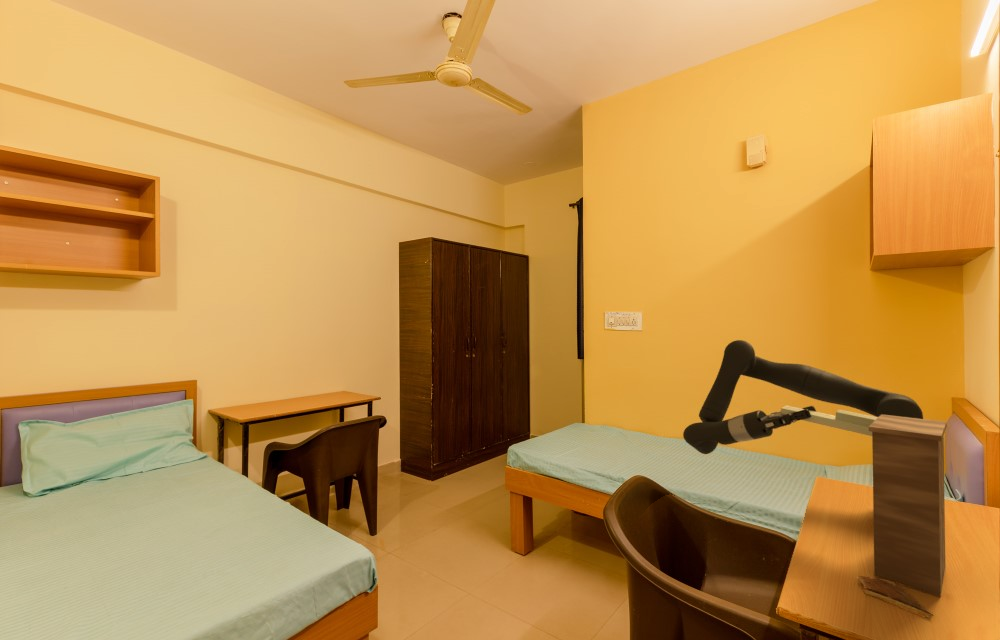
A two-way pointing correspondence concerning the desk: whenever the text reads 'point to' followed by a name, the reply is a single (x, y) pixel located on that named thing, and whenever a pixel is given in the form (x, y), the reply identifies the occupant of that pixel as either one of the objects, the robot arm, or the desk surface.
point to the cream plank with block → (838, 419)
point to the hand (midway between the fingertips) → (812, 411)
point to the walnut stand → (909, 501)
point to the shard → (893, 595)
